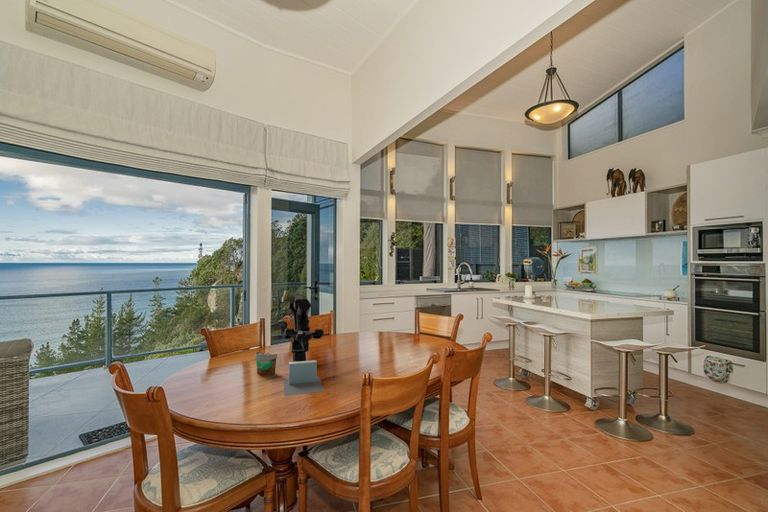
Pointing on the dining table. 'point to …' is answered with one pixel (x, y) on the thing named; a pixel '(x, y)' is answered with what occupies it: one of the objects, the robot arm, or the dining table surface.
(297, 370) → the tile
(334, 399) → the dining table surface
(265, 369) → the food container
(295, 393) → the mat
